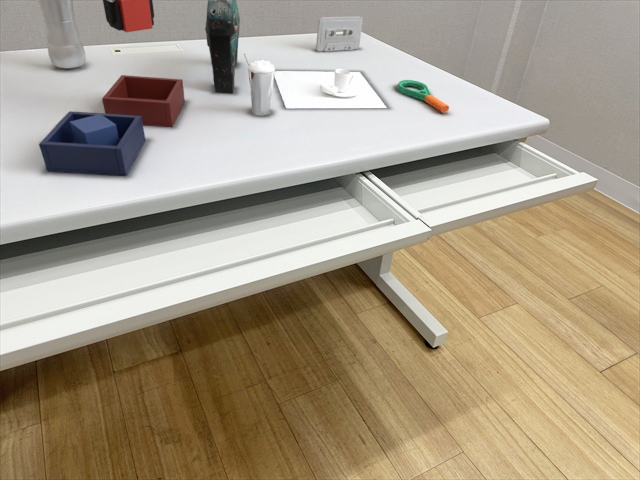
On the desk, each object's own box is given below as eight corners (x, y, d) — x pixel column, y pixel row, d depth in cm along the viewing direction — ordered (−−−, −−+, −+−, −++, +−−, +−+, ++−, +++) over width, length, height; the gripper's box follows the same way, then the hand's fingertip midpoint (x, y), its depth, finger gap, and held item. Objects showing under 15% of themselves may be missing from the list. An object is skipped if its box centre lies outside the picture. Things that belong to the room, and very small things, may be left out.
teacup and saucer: (321, 99, 93) (323, 78, 91) (314, 84, 99) (315, 64, 97) (364, 99, 95) (367, 79, 93) (354, 84, 101) (356, 65, 99)
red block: (126, 32, 72) (121, 0, 70) (111, 25, 75) (105, -7, 72) (152, 28, 75) (148, -3, 72) (137, 21, 77) (133, -9, 74)
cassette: (318, 52, 116) (320, 18, 112) (314, 49, 118) (317, 16, 113) (360, 49, 121) (364, 17, 116) (356, 47, 122) (360, 15, 118)
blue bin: (47, 171, 65) (38, 143, 62) (75, 136, 73) (69, 111, 71) (126, 175, 66) (121, 148, 63) (145, 140, 74) (141, 115, 71)
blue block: (91, 162, 67) (84, 133, 64) (76, 150, 69) (69, 121, 66) (121, 153, 69) (116, 124, 67) (106, 141, 72) (100, 113, 69)
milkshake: (248, 105, 88) (248, 49, 82) (276, 109, 88) (278, 54, 81) (240, 114, 85) (239, 57, 78) (269, 119, 84) (270, 62, 78)
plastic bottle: (45, 66, 95) (13, -50, 82) (76, 58, 99) (50, -52, 87) (64, 74, 92) (34, -44, 80) (95, 66, 97) (71, -47, 84)
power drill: (237, 97, 91) (235, -20, 78) (203, 95, 90) (195, -24, 77) (244, 62, 106) (242, -40, 94) (214, 60, 105) (209, -43, 93)
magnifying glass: (392, 86, 102) (393, 78, 101) (415, 84, 104) (417, 76, 103) (431, 115, 92) (433, 106, 91) (456, 112, 94) (458, 104, 93)
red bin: (106, 123, 78) (101, 98, 75) (125, 97, 86) (121, 74, 83) (172, 127, 79) (169, 102, 76) (184, 101, 87) (182, 79, 84)
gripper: (58, -119, 56) (91, 40, 68) (180, -114, 67) (191, 24, 78) (31, -125, 60) (67, 27, 71) (150, -119, 70) (165, 13, 82)
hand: (132, 24), depth 75 cm, fingers closed on red block, 4 cm apart
